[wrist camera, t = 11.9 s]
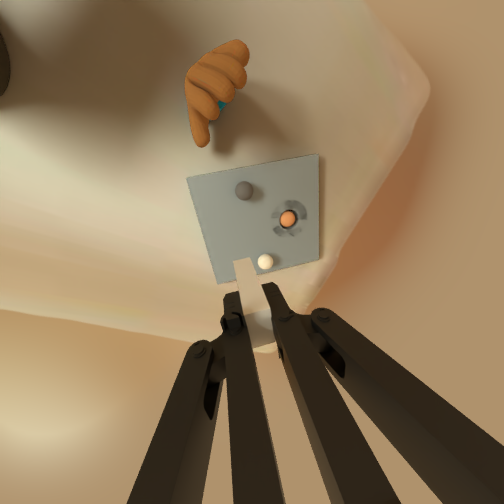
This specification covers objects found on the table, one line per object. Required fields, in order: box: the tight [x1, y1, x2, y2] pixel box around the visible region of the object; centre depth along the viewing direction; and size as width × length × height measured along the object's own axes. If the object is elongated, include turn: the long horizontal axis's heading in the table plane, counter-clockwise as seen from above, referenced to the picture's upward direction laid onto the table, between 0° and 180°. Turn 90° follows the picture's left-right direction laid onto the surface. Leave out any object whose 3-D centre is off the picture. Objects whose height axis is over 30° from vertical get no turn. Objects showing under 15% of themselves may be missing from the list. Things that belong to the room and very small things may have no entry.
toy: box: [185, 40, 249, 148], centre depth 26 cm, size 12×7×15 cm, turn 136°
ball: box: [279, 211, 295, 227], centre depth 41 cm, size 4×4×4 cm
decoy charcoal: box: [235, 181, 254, 201], centre depth 35 cm, size 4×4×4 cm
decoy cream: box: [258, 254, 273, 269], centre depth 42 cm, size 4×4×4 cm
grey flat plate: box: [186, 154, 319, 284], centre depth 41 cm, size 26×24×2 cm
